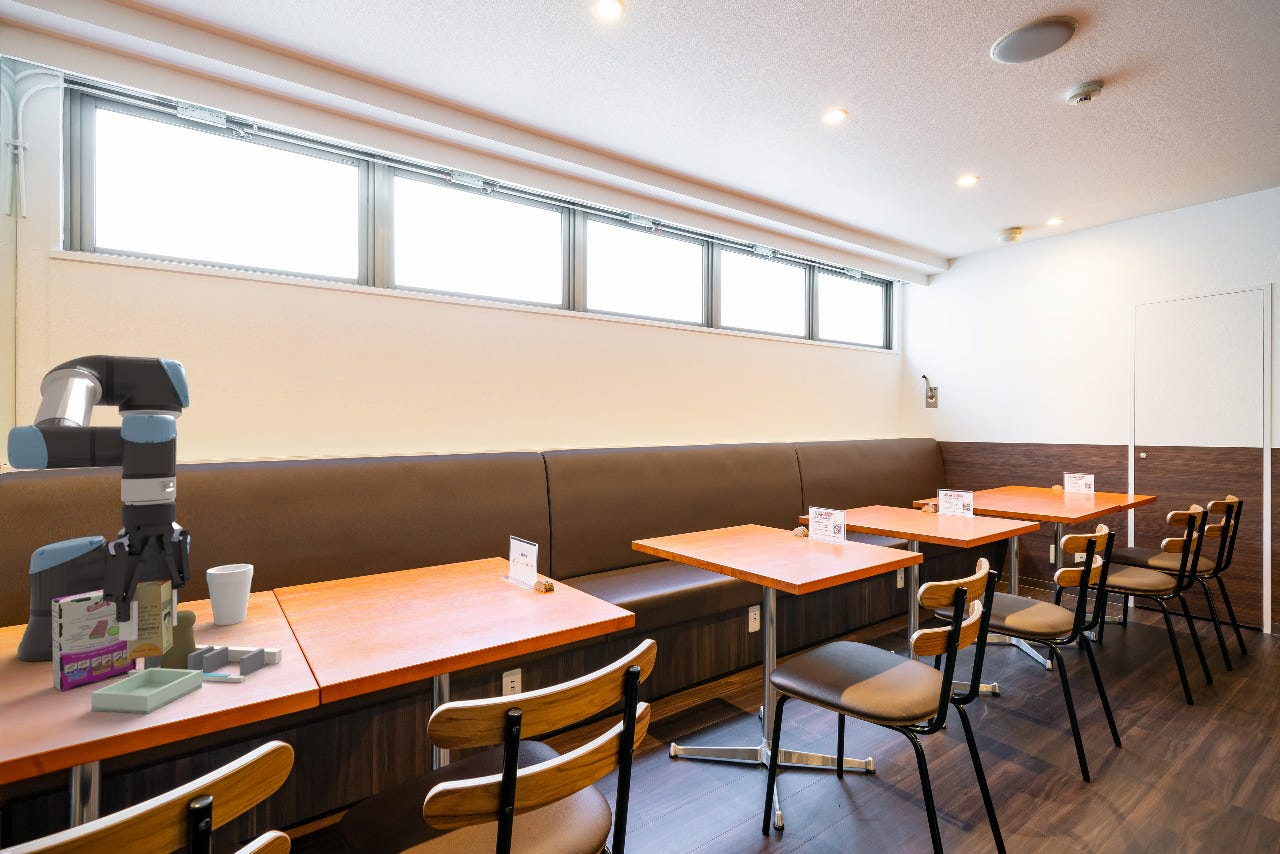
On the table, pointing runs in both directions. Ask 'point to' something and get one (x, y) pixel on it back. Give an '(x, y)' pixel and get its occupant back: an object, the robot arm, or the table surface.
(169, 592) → the shoe polish box
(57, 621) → the candy bar box
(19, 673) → the table surface
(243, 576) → the foam cup
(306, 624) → the table surface
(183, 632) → the cork
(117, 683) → the tray
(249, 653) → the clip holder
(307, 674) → the table surface
